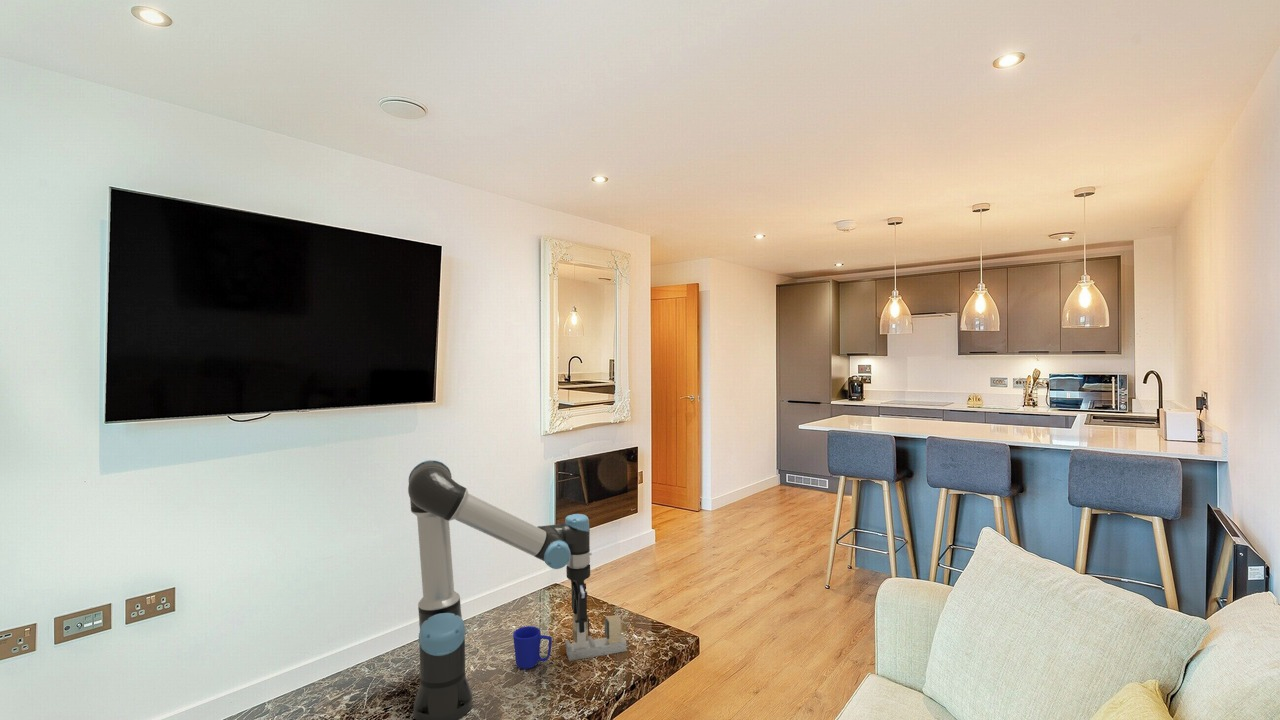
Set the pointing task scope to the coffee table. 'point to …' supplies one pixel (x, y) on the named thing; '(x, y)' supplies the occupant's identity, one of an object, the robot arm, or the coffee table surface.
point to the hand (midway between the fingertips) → (579, 637)
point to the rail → (599, 642)
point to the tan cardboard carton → (576, 628)
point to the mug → (529, 646)
